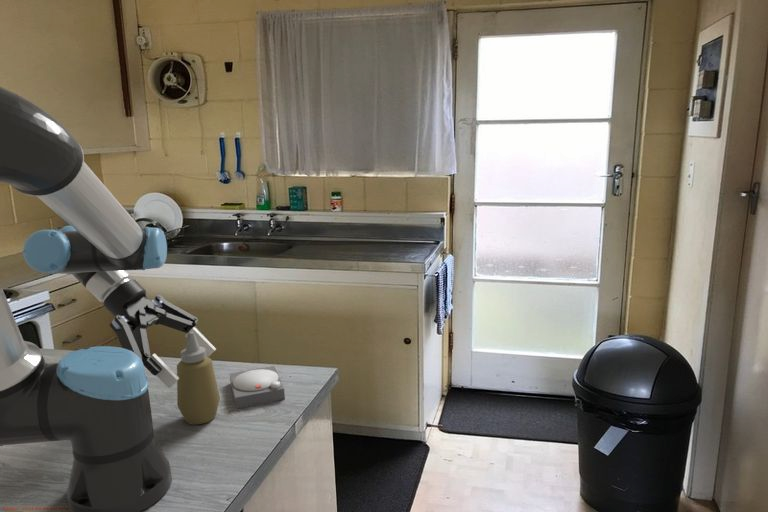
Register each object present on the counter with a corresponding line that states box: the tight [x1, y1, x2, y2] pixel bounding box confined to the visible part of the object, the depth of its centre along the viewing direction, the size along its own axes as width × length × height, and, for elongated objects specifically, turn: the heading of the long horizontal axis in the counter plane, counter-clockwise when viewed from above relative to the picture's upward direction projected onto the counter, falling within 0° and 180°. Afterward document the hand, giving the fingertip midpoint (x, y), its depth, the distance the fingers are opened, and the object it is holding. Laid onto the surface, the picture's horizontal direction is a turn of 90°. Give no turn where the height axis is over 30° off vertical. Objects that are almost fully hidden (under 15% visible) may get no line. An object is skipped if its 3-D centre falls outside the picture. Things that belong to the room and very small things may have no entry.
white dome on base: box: [229, 365, 286, 409], centre depth 123 cm, size 12×10×3 cm
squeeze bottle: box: [176, 332, 221, 425], centre depth 111 cm, size 8×8×18 cm
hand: (194, 367), depth 112 cm, fingers open, 13 cm apart
